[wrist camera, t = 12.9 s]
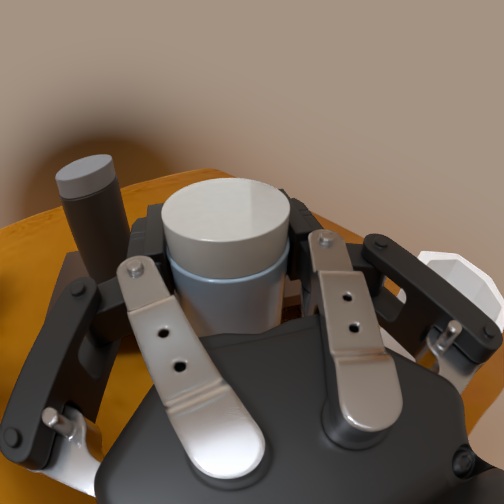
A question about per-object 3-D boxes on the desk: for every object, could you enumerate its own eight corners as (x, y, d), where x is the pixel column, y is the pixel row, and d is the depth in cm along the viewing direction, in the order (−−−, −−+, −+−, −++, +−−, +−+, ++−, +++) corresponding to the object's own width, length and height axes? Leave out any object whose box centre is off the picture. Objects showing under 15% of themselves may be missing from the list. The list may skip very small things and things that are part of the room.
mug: (391, 432, 16) (466, 369, 10) (345, 349, 23) (381, 261, 17) (479, 369, 19) (537, 299, 13) (435, 310, 25) (474, 234, 19)
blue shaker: (203, 404, 13) (155, 254, 7) (192, 339, 17) (160, 184, 10) (284, 387, 14) (316, 230, 8) (263, 326, 17) (270, 172, 11)
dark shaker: (90, 299, 20) (44, 186, 14) (98, 264, 23) (65, 161, 17) (140, 292, 21) (106, 171, 15) (143, 257, 24) (118, 149, 18)
